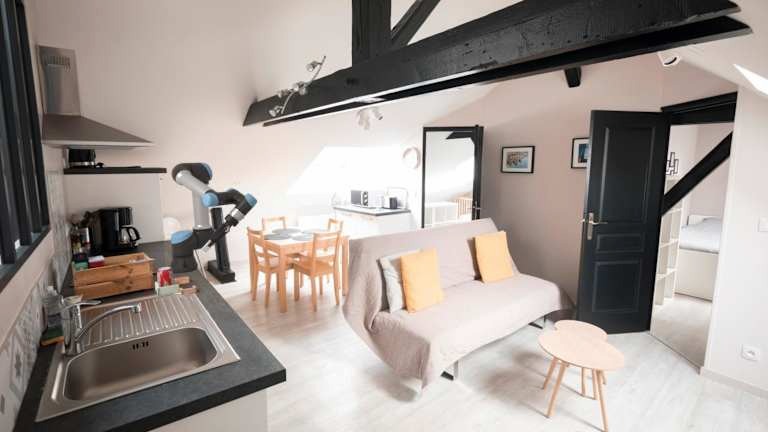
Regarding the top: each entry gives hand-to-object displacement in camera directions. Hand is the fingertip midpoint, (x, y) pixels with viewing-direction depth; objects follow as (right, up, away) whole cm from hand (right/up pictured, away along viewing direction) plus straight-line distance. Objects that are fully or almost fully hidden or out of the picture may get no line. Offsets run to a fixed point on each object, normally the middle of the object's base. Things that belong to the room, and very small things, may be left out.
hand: (203, 250), depth 205 cm
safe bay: (-15, -20, -7) cm, 26 cm away
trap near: (-3, -20, -10) cm, 23 cm away
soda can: (-16, -20, -7) cm, 27 cm away
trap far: (-14, -18, +5) cm, 23 cm away
